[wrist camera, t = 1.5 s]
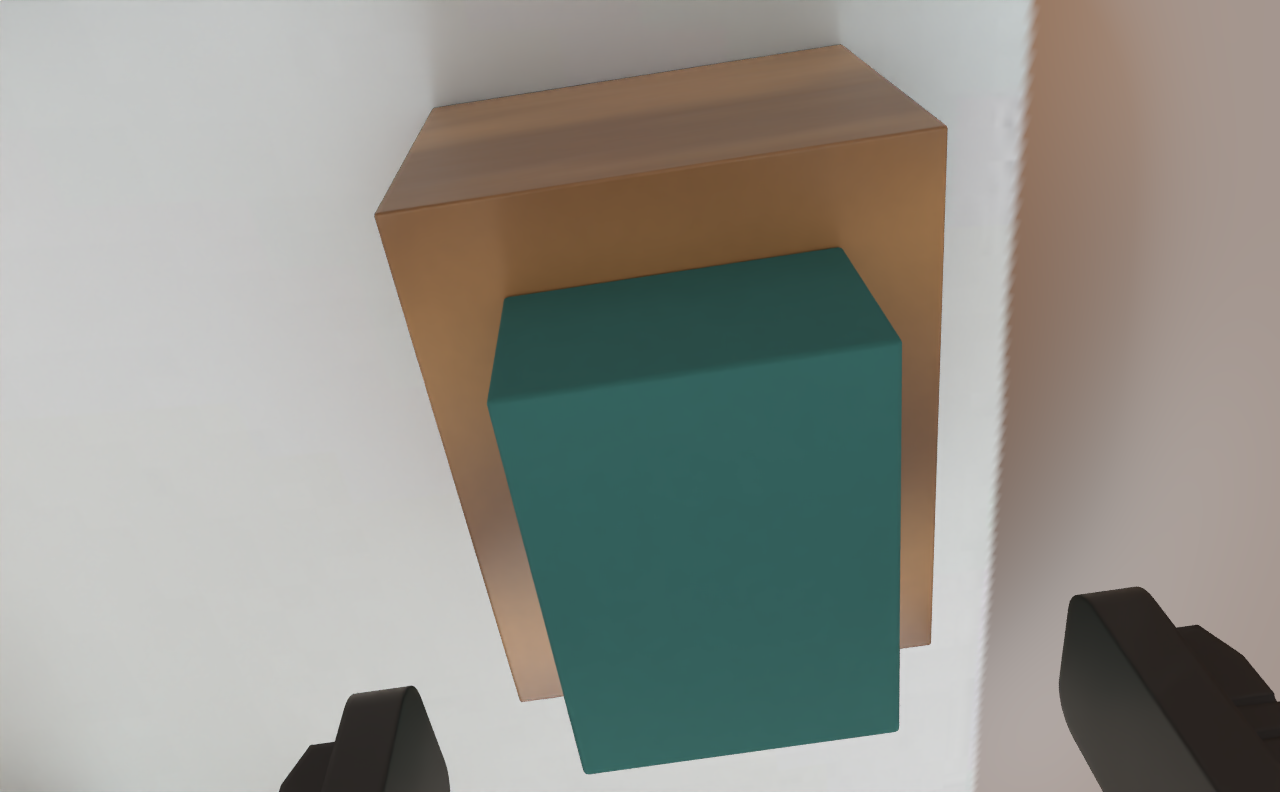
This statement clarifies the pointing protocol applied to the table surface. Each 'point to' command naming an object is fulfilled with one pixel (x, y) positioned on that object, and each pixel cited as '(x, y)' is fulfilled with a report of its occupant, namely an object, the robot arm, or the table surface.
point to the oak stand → (663, 252)
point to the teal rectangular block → (710, 504)
